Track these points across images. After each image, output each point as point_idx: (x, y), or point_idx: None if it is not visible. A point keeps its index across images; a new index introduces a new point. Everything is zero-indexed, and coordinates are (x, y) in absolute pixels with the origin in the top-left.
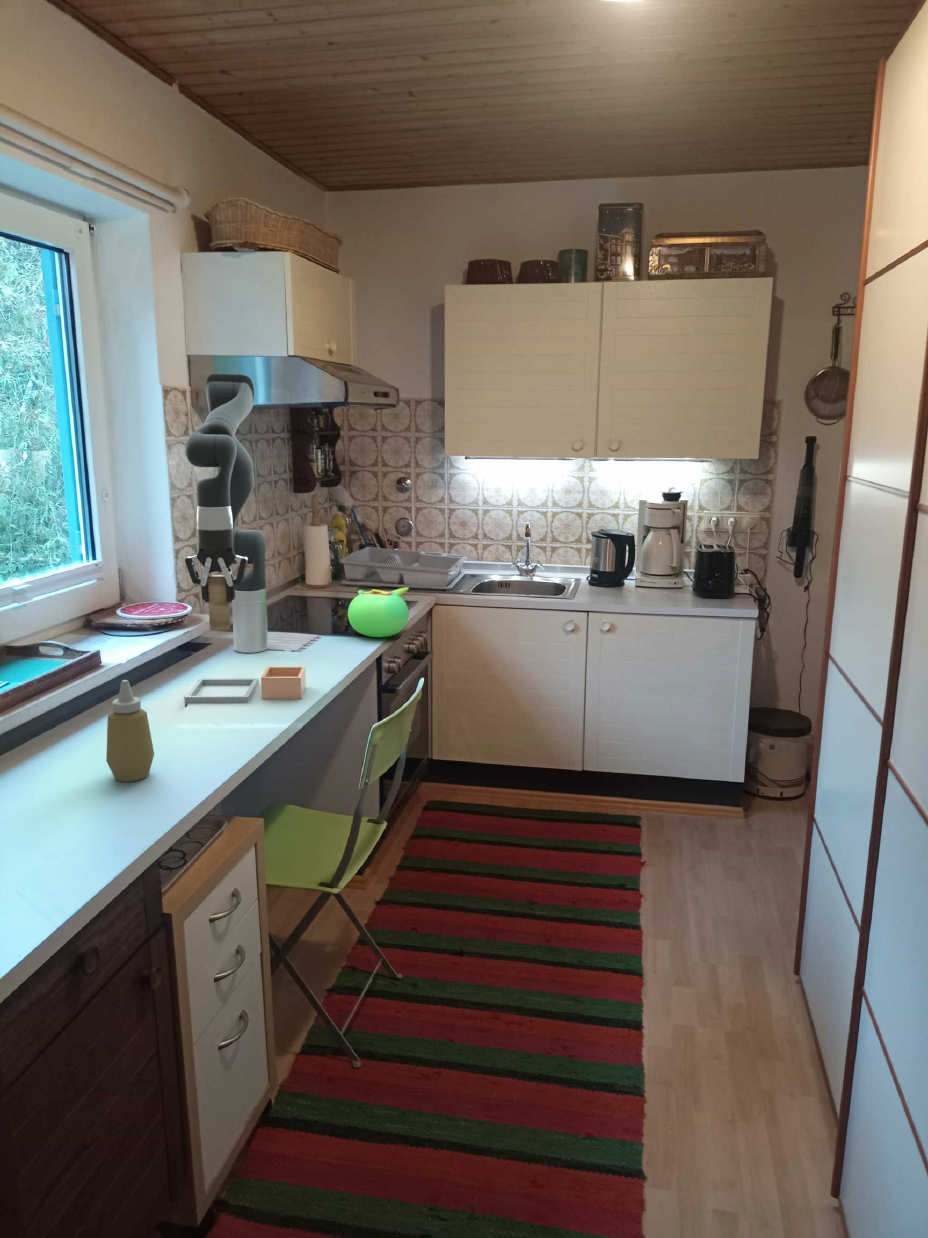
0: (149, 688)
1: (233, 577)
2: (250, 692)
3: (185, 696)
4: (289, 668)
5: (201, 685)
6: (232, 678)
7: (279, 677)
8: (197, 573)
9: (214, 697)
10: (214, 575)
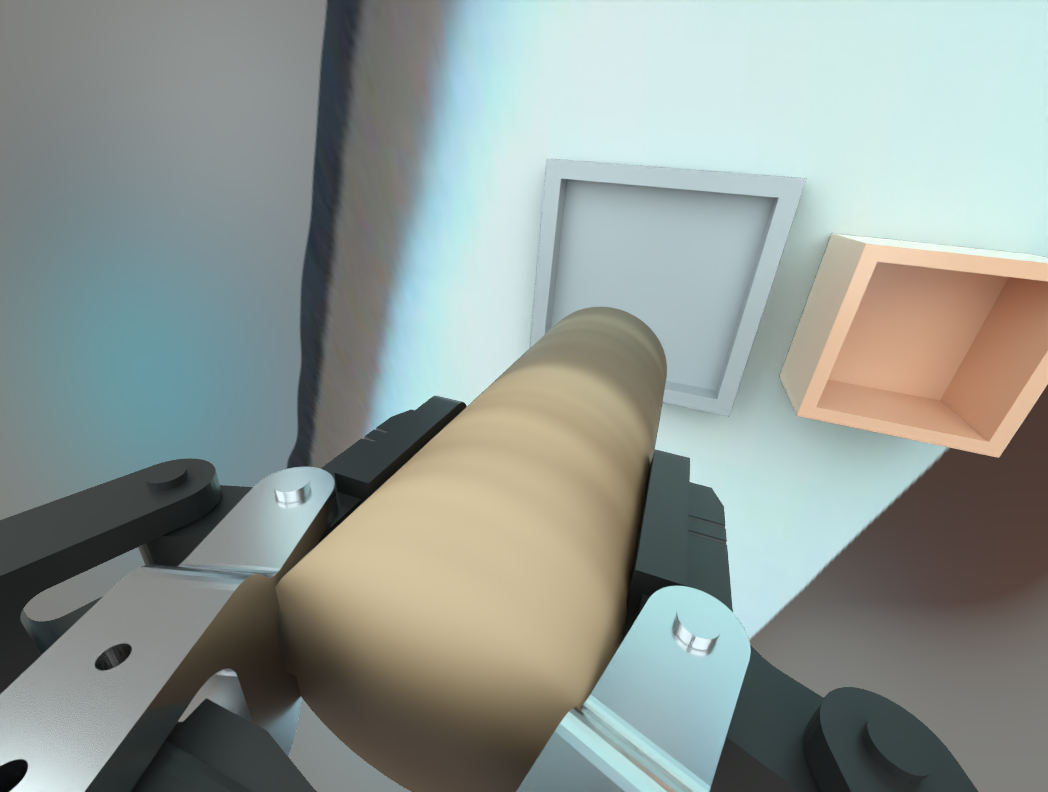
0: (401, 154)
1: (724, 734)
2: (743, 371)
3: None
4: (997, 274)
5: (562, 201)
6: (682, 169)
7: (886, 432)
8: (83, 566)
9: None
10: (334, 590)
